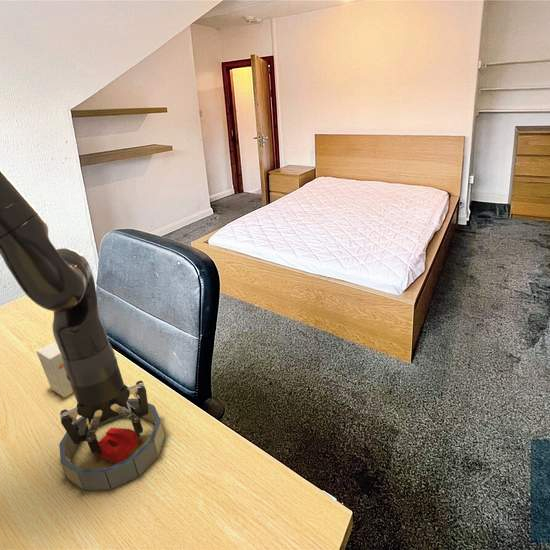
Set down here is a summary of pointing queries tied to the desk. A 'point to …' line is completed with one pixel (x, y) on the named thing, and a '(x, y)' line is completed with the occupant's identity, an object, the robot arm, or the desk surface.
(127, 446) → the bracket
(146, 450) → the grey segmented ring
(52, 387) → the small box
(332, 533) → the desk surface
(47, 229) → the robot arm
